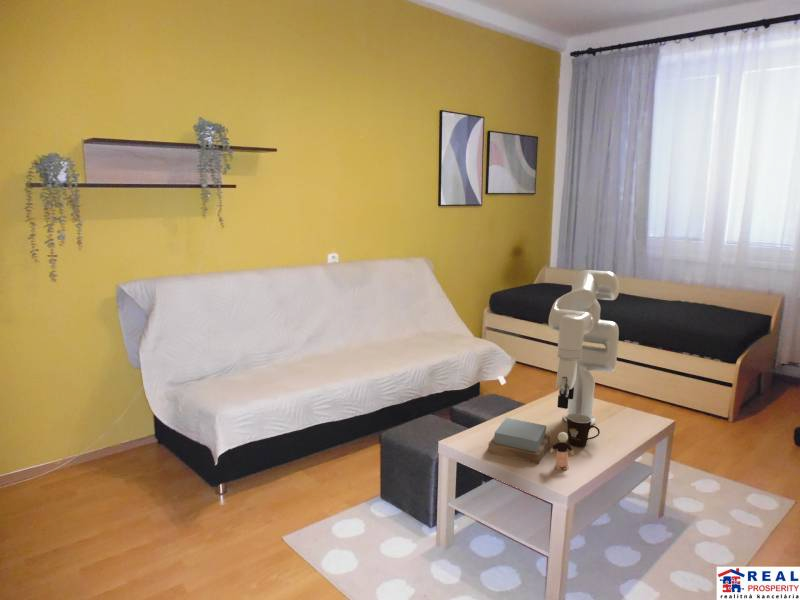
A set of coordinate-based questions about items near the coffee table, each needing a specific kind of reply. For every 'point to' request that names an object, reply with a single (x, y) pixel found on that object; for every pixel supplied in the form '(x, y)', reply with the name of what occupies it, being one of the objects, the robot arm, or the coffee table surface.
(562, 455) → the grandmother figurine
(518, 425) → the tower top block
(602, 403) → the coffee table surface
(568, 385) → the robot arm
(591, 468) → the coffee table surface
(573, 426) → the coffee mug
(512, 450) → the tower base block
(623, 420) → the coffee table surface
